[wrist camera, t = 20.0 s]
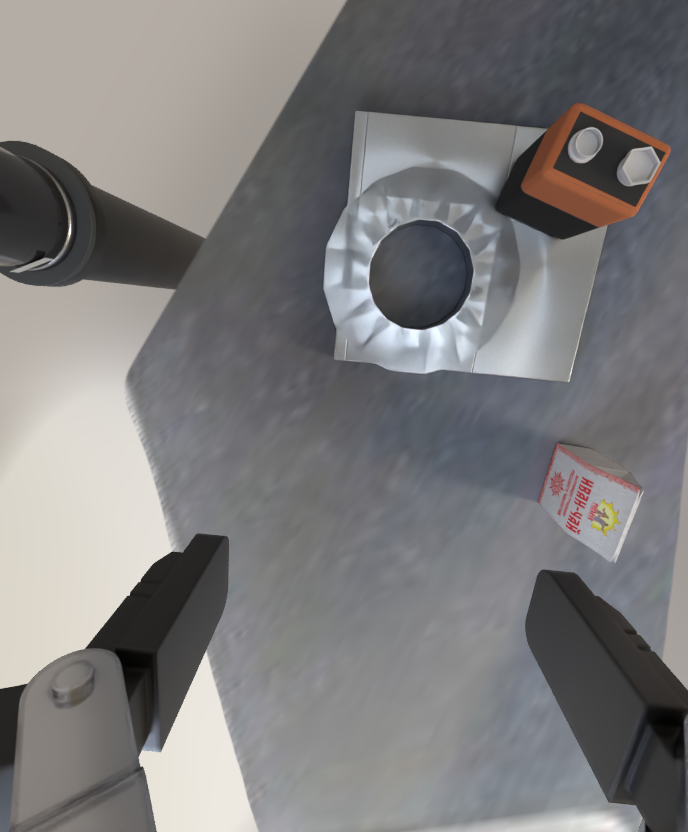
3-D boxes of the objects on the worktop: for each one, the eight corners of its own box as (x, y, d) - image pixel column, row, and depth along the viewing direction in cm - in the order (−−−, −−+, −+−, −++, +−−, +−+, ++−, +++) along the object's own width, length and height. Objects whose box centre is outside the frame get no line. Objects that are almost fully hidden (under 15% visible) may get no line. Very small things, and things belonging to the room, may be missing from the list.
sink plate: (318, 361, 39) (316, 363, 37) (337, 120, 33) (336, 108, 31) (557, 384, 39) (567, 388, 37) (614, 146, 33) (630, 135, 31)
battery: (563, 242, 33) (646, 215, 24) (491, 210, 33) (546, 168, 23) (591, 189, 32) (690, 139, 23) (517, 155, 32) (586, 87, 22)
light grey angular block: (592, 448, 40) (666, 492, 31) (571, 507, 42) (635, 566, 32) (556, 443, 40) (619, 485, 31) (538, 502, 42) (591, 559, 32)
